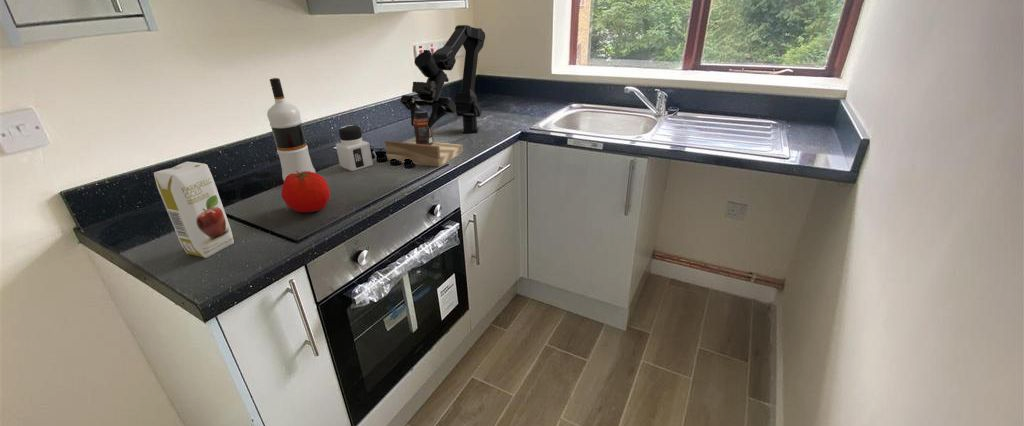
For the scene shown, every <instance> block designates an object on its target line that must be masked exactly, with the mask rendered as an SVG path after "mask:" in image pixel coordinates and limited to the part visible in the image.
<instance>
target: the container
mask: <svg viewBox="0 0 1024 426" xmlns="http://www.w3.org/2000/svg"><path fill="white" fill-rule="evenodd" d="M338 134H339V138H340V139H339V140H340V142H338V143H335V146H336V147H335V148H336V152H337V153H336V154H337V156H338V161H339V167H341V168H344V169H346V170H348V171H350V172H355V171H358V170H361V169H364V168H368V167H371V166H373V164H374V163H373V157H372V152H371V147H370V143H369V142H367V141H365V140H363V136H362V135H363V134H362V130H361V127H360V126H358V125H354V124H352V125H351V124H350V125H345V126H342V127H340V128H339V129H338Z"/></svg>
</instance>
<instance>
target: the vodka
mask: <svg viewBox="0 0 1024 426" xmlns="http://www.w3.org/2000/svg"><path fill="white" fill-rule="evenodd" d="M269 82H270V83H269V84H270V86H271V90H272V94H273V99H274V104H272V106H270V108H269V109H268V110H267V112H266V115H267V119H268V121H269V126H270V128H271V131H272V135H273V140H274V143H275V146H276V149H277V150H276V152H277V154H278V157H279V161H280V166H281V173H282V174H281V175H282V176H281V177H282V180H283V182H284V181H285V179H286V177H287V176H288V175H290V174H293V173H297V172H299V173H301V172H304V171H310V172H314V173H316V174H317V171H316V169H315V167H314V165H313V163H312V160H311V156H310V152H309V146H308V145H307V141H306V137H305V133H304V129H303V124H302V119H301V113H300V110H299V109H298V107H297V106H295V105H293V104H291V103H289V102H287V101H286V98H285V95H284V90H283V87H282V83H281V79H280V78H278V77H272V78H270V79H269ZM296 171H297V172H296Z"/></svg>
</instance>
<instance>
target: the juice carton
mask: <svg viewBox="0 0 1024 426" xmlns="http://www.w3.org/2000/svg"><path fill="white" fill-rule="evenodd" d="M153 176H154V180H155V183H156V188H157V190H158V193H159V195H160V197H161V200H162V203H163V205H164V207H165V211H166V212H167V214H168V217H169V220H170V221H171V222H170V223H171V224H172V226H173V229H174V230H175V233H176V236H177V238H178V241H179V243H180V245H181V247H182V248H183V250H184V251H185V252H186V254H187V255H190V256H191V255H192V256H195V257H200V258H205V259H206V258H210V257H212V256H213V255H215V254H217V253H218V252H220V251H222V250H224V249H226V248H228V247H230V246H231V245H233V244H234V243H235V242H234V236H233V232H232V229H231V225H230V223H229V220H228V216H227V214H226V211H225V208H224V206H223V203H222V200H221V197H220V195H219V192H218V188H217V185H216V182H215V180H214V177H213V175H212V172H211V170H210V168H209V166H208V164H206V163H202V162H194V161H184V162H182V163H179V164H177V165H175V166H173V167H170V168H165V169H161V170H158V171H154V172H153Z"/></svg>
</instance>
